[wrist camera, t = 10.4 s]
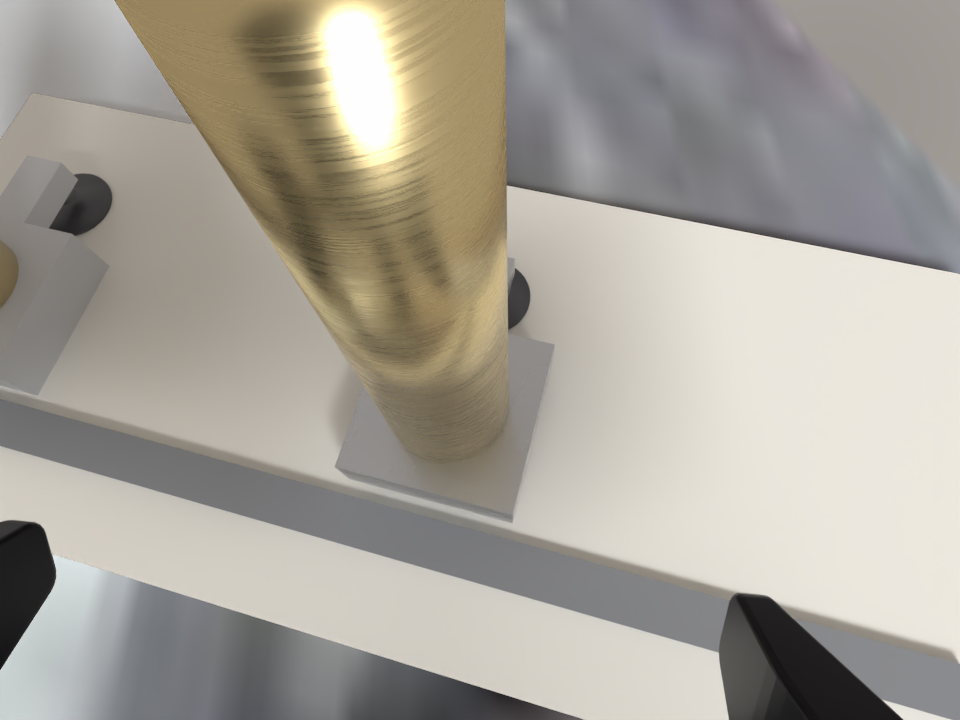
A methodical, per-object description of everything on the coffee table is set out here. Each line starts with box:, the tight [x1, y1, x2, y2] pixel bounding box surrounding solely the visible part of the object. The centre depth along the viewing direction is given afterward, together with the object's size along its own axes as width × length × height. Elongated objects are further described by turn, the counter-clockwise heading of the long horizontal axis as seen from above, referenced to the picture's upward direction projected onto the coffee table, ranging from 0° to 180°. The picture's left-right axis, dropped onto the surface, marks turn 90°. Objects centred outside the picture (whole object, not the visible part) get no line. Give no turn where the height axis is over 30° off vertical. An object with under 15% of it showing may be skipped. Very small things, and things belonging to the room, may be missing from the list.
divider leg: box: [115, 0, 555, 523], centre depth 11 cm, size 7×4×14 cm
